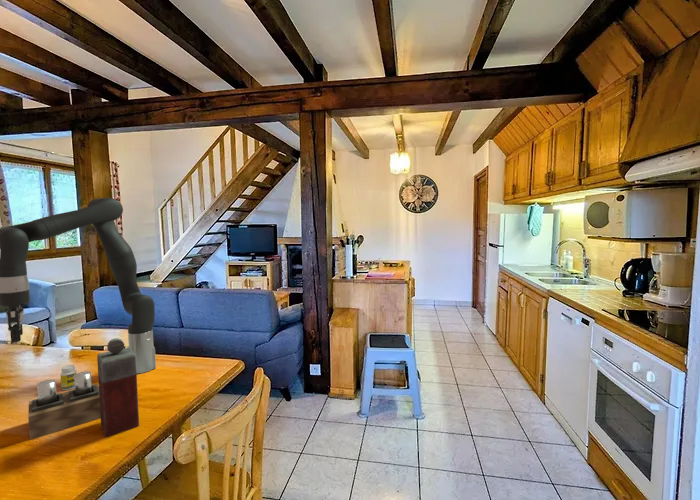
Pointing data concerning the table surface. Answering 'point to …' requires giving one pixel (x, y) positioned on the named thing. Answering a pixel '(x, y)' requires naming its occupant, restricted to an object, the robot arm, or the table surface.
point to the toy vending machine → (117, 388)
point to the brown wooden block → (63, 412)
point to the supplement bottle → (68, 377)
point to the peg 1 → (46, 392)
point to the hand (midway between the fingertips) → (17, 338)
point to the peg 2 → (82, 383)
